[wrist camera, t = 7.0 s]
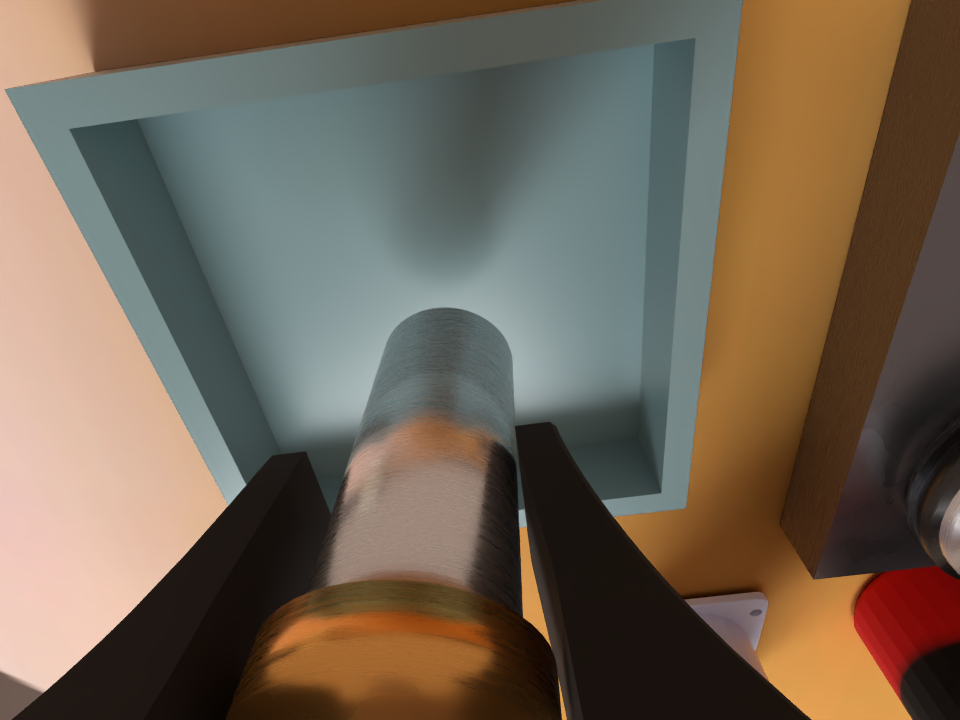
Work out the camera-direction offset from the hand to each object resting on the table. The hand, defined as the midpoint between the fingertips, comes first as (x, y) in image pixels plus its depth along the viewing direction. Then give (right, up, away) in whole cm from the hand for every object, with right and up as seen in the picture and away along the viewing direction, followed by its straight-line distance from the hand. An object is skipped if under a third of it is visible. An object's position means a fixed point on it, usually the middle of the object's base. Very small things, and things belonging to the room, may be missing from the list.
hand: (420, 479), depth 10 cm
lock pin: (0, +2, +3) cm, 4 cm away
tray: (0, +4, +6) cm, 7 cm away
